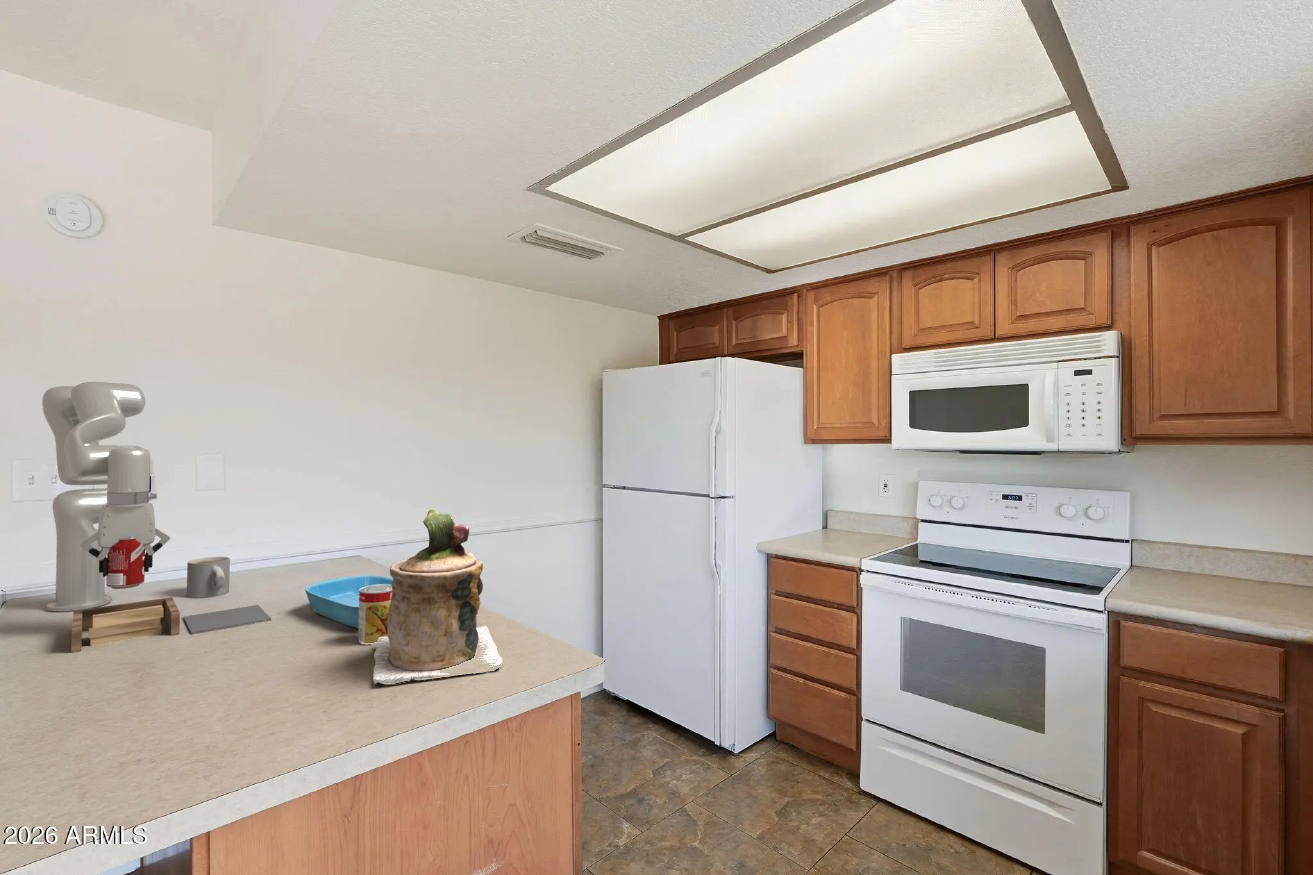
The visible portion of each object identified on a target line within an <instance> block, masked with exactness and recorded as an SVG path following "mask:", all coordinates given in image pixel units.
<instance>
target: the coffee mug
mask: <svg viewBox="0 0 1313 875" xmlns="http://www.w3.org/2000/svg"><path fill="white" fill-rule="evenodd" d="M230 560H231V558H230V557H228V556H207V557H201V558H194V559H191V560H188V561H187V565H186V567H187V568H186V572H187V573H186V574H187V575H186V598H188V599H205V598H206V599H207V598H214V597H220V596H223V595H226V594H228V593H230V571H231V570H230V566H231V565H230V563H231V561H230Z"/></svg>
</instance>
